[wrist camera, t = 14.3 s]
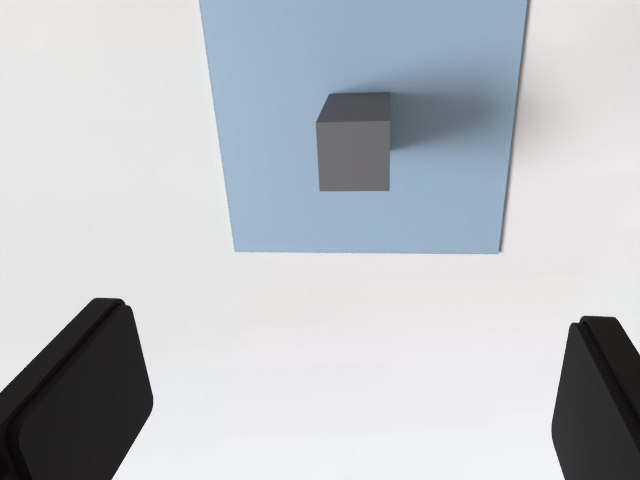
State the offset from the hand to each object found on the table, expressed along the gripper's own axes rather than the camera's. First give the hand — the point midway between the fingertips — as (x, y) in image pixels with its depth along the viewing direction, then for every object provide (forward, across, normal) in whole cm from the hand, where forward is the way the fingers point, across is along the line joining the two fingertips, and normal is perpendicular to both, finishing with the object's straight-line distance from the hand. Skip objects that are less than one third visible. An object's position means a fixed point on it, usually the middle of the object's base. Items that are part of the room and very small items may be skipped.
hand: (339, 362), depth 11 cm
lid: (+18, +1, -1) cm, 19 cm away
